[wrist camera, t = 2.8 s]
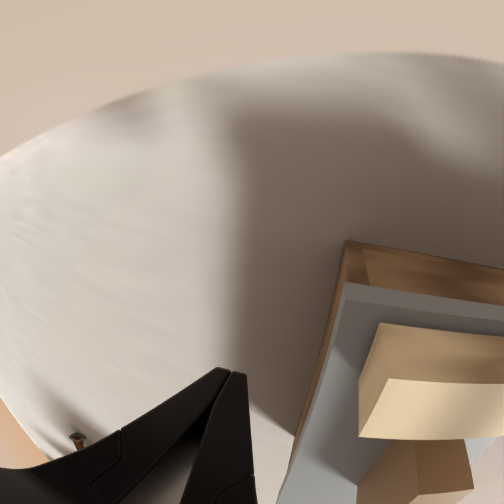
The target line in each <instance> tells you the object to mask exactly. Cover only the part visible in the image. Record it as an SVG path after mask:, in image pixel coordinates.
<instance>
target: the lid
mask: <svg viewBox="0 0 504 504" xmlns="http://www.w3.org/2000/svg"><path fill="white" fill-rule="evenodd" d="M379 323H387V324H394V325H402V326H409V327H417V328H425V329H433V330H442V331H450V332H460V333H469V334H479V335H489V336H501V337H504V306H499V305H492V304H485V303H478V302H472V301H465V300H458V299H451V298H445V297H438V296H432V295H425V294H419V293H412V292H406V291H400V290H393V289H387V288H381V287H374V286H368V285H362V284H356V283H350V282H344V286H343V290H342V294H341V299H340V303H339V307H338V311H337V315H336V319H335V323H334V327H333V331H332V335H331V338H330V342H329V346H328V350H327V353H326V357H325V360H324V364H323V367H322V371H321V374H320V377H319V381H318V384H317V387H316V390H315V394H314V397H313V400H312V403H311V406H310V409H309V412H308V415H307V418H306V421H305V424H304V427H303V430H302V433H301V436H300V439H299V441H298V444H297V447H296V450H295V452H294V455H293V458H292V460H291V463H290V466H289V468H288V471H287V473H286V476H285V478H284V481H283V483H282V486H281V488H280V491H279V494H278V498H277V502H276V504H456V503H458V502H459V501H460V500H461V499H463V498H464V497H465V496H466V495H468V494H469V493H470V492H471V491H472V490H473V489H474V485H473V479H472V473H471V468H470V466H471V465H472V464H473V463H474V462H475V461H476V460H477V459H478V458H479V457H480V456H481V455H482V454H483V453H484V451H485V450H486V449H487V448H488V447H489V446H490V445H491V444H492V443H493V441H494V440H495V439H496V438H497V437H498V436H494V437H483V438H470V439H451V440H402V439H381V438H367V437H359V385H358V380H359V378H360V375H361V373H362V370H363V368H364V365H365V362H366V360H367V357H368V354H369V352H370V349H371V346H372V343H373V340H374V338H375V335H376V332H377V329H378V326H379Z"/></svg>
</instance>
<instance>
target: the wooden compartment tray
mask: <svg viewBox="0 0 504 504" xmlns="http://www.w3.org/2000/svg"><path fill="white" fill-rule="evenodd" d="M344 282H350V283H356V284H362V285H368V286H374V287H381V288H387V289H393V290H400V291H406V292H412V293H419V294H425V295H432V296H438V297H445V298H451V299H458V300H465V301H472V302H478V303H485V304H492V305H499V306H504V270H502V269H497V268H492V267H487V266H482V265H477V264H472V263H467V262H462V261H457V260H452V259H446V258H441V257H436V256H430V255H425V254H420V253H414V252H409V251H403V250H398V249H392V248H386V247H381V246H375V245H369V244H363V243H357V242H351V241H345V242H344V247H343V252H342V257H341V262H340V267H339V272H338V277H337V282H336V287H335V291H334V296H333V300H332V305H331V309H330V313H329V318H328V322H327V326H326V330H325V334H324V338H323V342H322V346H321V350H320V353H319V357H318V361H317V365H316V368H315V372H314V375H313V379H312V382H311V386H310V389H309V393H308V396H307V400H306V403H305V406H304V409H303V413H302V416H301V419H300V422H299V425H298V428H297V431H296V434H295V438H294V442H293V447H292V452H291V456H290V461H289V466H290V463H291V460H292V458H293V455H294V452H295V450H296V447H297V444H298V441H299V439H300V436H301V433H302V430H303V427H304V424H305V421H306V418H307V415H308V412H309V409H310V406H311V403H312V400H313V397H314V394H315V390H316V387H317V384H318V381H319V377H320V374H321V371H322V367H323V364H324V360H325V357H326V353H327V350H328V346H329V342H330V338H331V335H332V331H333V327H334V323H335V319H336V315H337V311H338V307H339V303H340V299H341V294H342V290H343V286H344ZM289 466H288V468H289ZM287 471H288V470H287Z"/></svg>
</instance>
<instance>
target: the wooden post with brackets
mask: <svg viewBox="0 0 504 504" xmlns="http://www.w3.org/2000/svg"><path fill="white" fill-rule="evenodd" d="M69 438H70V439H72V440H73V442H74V444H75V446H76V449H77V451H78V450H80V449H83V448H84V445H83V439H85V437H84V436H82V435H80V434H78V433H77V432H76V433H74V434H72V435H70V436H69Z"/></svg>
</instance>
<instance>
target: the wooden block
mask: <svg viewBox="0 0 504 504" xmlns="http://www.w3.org/2000/svg"><path fill="white" fill-rule="evenodd" d="M358 385H359V437H367V438H381V439H402V440H451V439H470V438H483V437H494V436H502V435H504V337H501V336H489V335H479V334H469V333H460V332H450V331H442V330H433V329H425V328H417V327H409V326H402V325H394V324H387V323H379V326H378V329H377V332H376V335H375V338H374V340H373V343H372V346H371V349H370V352H369V354H368V357H367V360H366V362H365V365H364V368H363V370H362V373H361V375H360V378H359V380H358Z"/></svg>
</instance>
